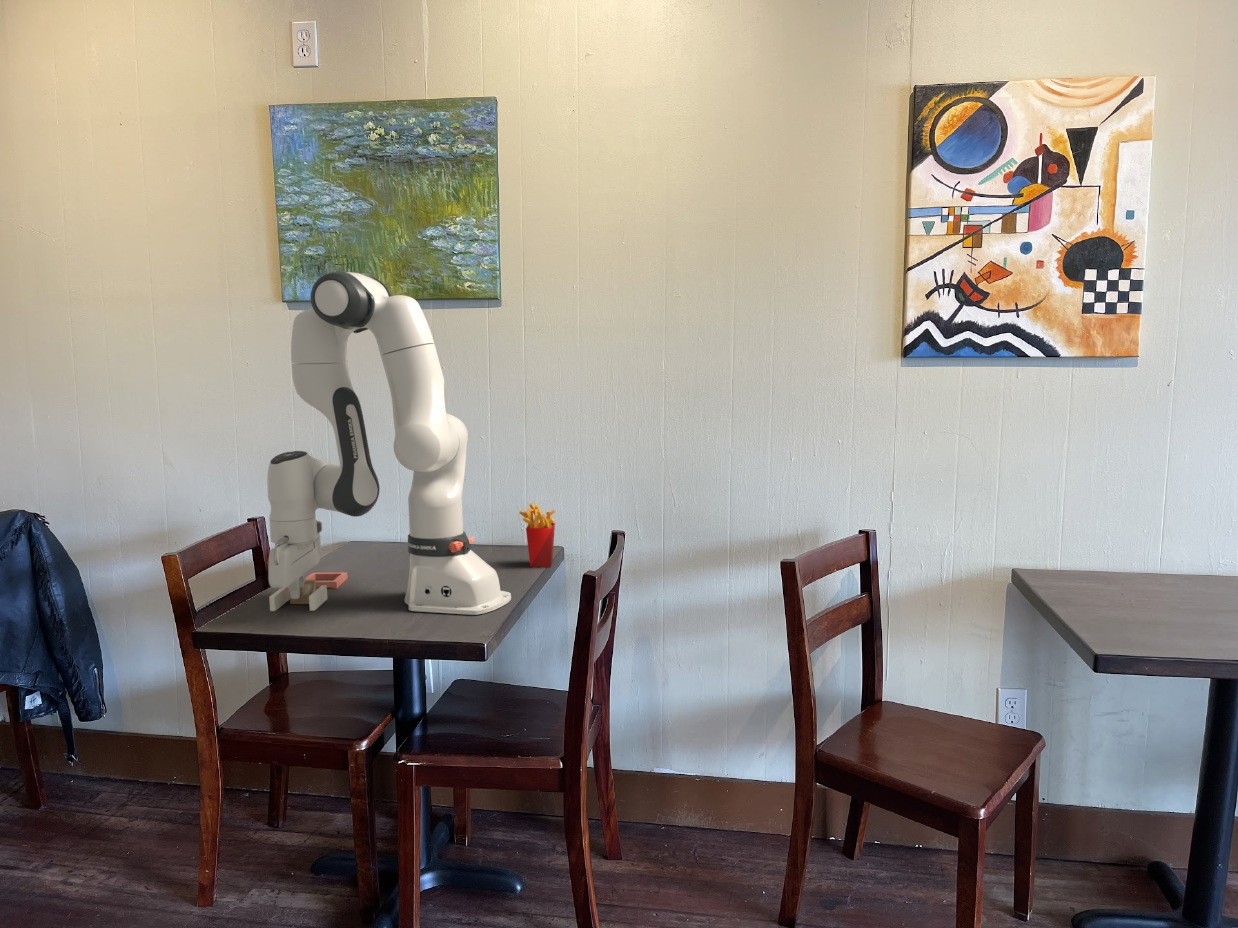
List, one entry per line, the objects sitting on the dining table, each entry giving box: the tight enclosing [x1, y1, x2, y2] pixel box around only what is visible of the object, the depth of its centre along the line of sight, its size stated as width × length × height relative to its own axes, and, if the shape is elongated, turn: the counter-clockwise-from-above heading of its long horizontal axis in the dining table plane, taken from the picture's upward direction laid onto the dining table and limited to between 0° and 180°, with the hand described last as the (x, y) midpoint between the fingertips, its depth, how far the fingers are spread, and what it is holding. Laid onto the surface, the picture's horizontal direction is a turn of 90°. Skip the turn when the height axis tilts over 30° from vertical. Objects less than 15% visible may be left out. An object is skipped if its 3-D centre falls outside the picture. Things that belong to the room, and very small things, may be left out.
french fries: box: [519, 503, 556, 569], centre depth 206 cm, size 9×8×15 cm
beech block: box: [289, 580, 317, 605], centre depth 180 cm, size 4×4×4 cm
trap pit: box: [305, 571, 348, 590], centre depth 193 cm, size 8×8×2 cm
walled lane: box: [268, 585, 328, 612], centre depth 177 cm, size 8×9×3 cm
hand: (297, 596), depth 176 cm, fingers closed
